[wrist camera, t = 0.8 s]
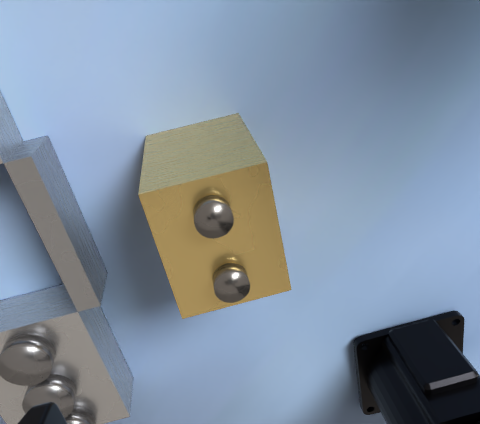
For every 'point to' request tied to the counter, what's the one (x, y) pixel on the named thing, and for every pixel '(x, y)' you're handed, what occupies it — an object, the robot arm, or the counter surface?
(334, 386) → the counter surface
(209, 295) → the studded golden block
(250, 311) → the counter surface
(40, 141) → the chrome-studded grey beam
